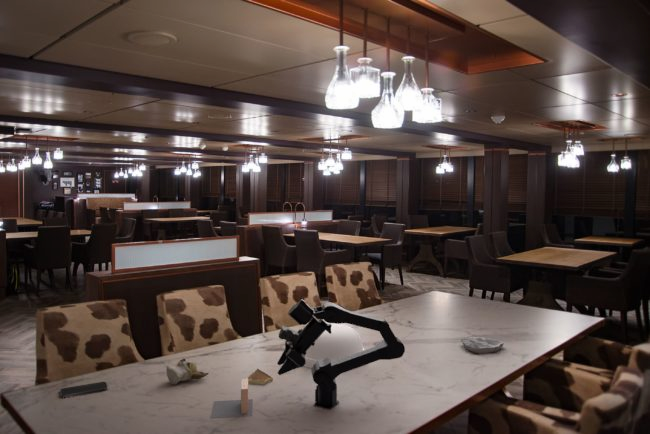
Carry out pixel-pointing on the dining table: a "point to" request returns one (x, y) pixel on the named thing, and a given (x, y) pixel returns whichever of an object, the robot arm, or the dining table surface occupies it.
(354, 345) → the dome cover
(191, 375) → the ceramic sculpture
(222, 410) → the mat
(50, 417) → the dining table surface
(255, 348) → the dining table surface
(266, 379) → the shard
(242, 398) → the tile
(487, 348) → the flat grey rock
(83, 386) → the phone
